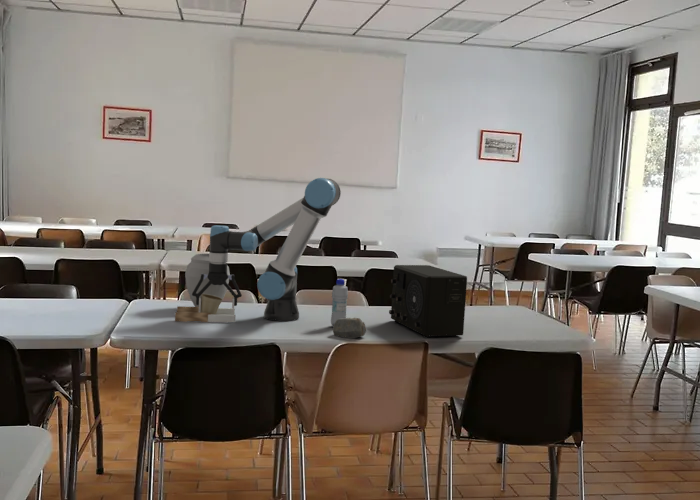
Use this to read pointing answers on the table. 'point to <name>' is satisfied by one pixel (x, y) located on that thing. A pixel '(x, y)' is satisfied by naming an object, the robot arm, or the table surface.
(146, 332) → the table surface
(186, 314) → the flat square wooden block
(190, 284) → the vase
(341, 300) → the bottle
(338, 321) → the stone
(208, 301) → the flower pot
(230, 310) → the bay
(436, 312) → the vintage radio
